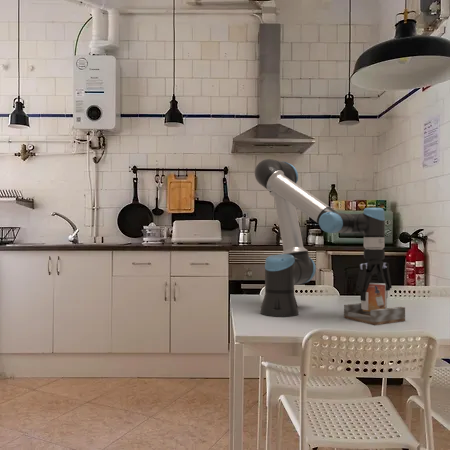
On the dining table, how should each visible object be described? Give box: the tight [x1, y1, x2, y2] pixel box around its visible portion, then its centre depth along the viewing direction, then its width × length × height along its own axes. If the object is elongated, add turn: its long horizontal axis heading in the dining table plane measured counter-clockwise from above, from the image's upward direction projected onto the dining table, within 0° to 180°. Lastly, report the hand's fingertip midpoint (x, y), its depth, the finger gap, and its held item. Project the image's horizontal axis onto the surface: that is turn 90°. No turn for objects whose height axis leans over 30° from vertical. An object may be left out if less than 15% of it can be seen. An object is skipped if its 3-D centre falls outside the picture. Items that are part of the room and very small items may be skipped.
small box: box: [363, 282, 386, 312], centre depth 170 cm, size 8×6×10 cm
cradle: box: [343, 302, 406, 326], centre depth 169 cm, size 16×15×5 cm
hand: (374, 308), depth 169 cm, fingers closed on small box, 9 cm apart
